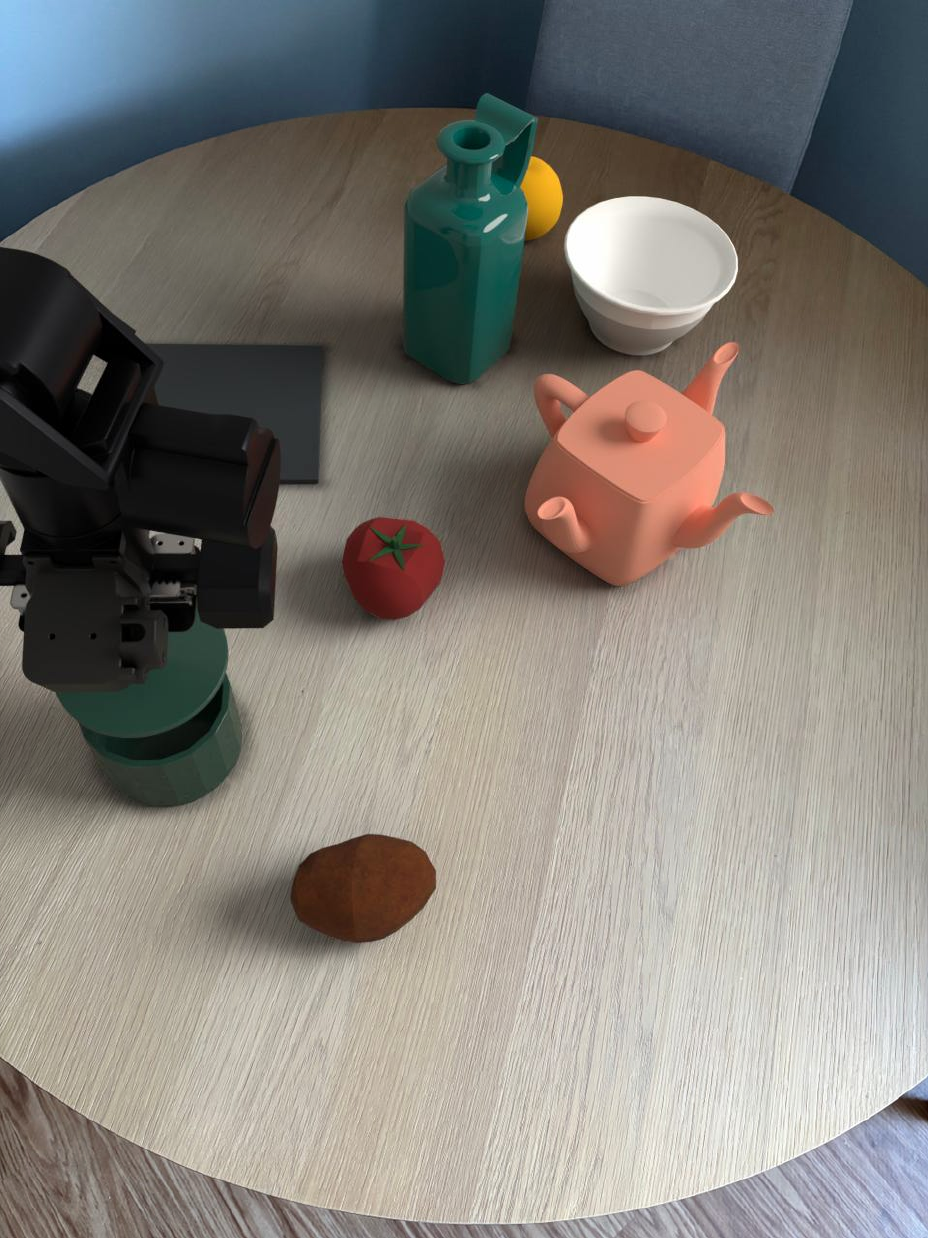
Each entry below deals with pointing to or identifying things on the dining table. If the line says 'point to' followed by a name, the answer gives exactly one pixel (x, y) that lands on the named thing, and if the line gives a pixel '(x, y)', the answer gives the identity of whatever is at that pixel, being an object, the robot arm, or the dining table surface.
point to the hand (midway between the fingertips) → (136, 648)
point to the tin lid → (159, 689)
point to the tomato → (392, 566)
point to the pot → (633, 471)
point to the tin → (174, 755)
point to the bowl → (647, 270)
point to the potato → (362, 887)
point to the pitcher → (467, 243)
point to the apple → (541, 198)
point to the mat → (252, 393)
